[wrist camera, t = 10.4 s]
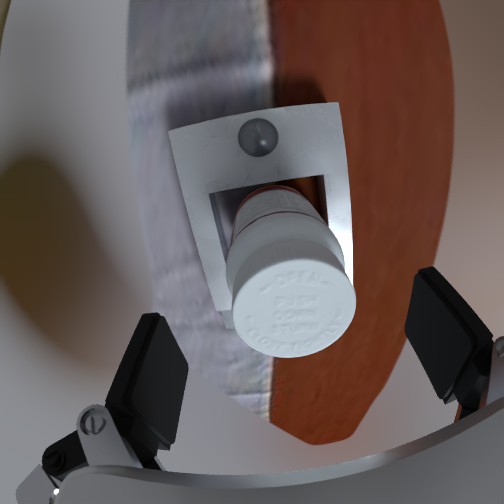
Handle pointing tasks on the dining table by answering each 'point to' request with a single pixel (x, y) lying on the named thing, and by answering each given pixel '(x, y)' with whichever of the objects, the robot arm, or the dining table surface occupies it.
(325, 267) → the pill bottle
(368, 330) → the dining table surface
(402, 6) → the dining table surface
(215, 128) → the slotted white bracket
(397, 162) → the dining table surface
